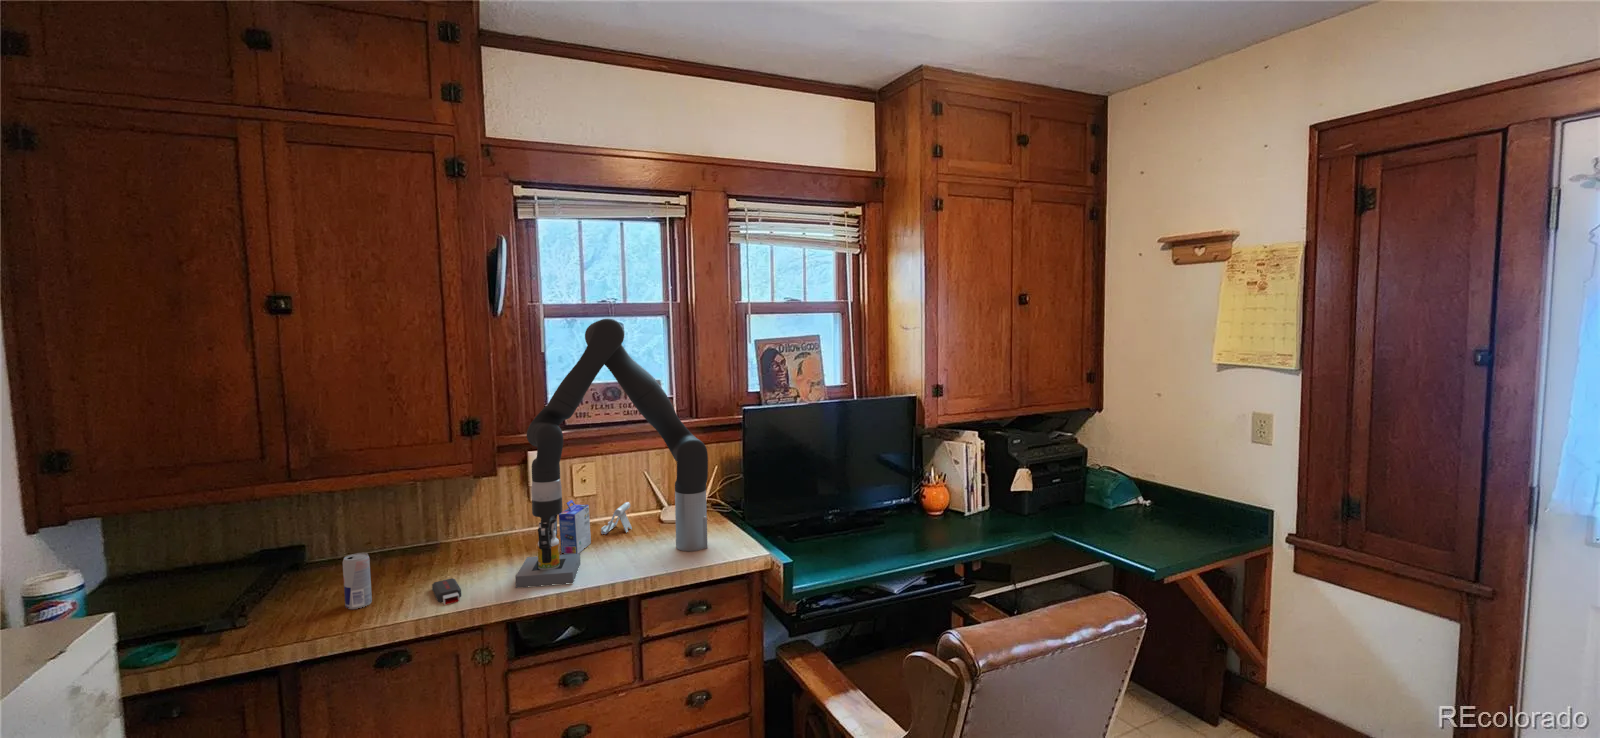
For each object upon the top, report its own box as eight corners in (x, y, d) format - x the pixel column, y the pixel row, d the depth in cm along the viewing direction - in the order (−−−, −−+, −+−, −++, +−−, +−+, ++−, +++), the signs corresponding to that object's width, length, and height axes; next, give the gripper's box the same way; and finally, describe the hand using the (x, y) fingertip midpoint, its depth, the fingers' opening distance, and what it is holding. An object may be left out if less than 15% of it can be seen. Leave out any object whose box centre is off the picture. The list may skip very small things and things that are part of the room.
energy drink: (353, 600, 162) (350, 553, 161) (376, 599, 163) (373, 552, 162) (340, 610, 157) (337, 561, 156) (364, 609, 157) (361, 560, 156)
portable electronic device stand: (611, 526, 219) (610, 501, 218) (634, 526, 218) (633, 502, 218) (601, 534, 211) (600, 509, 210) (624, 535, 210) (624, 509, 209)
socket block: (580, 563, 185) (580, 553, 185) (573, 583, 172) (572, 572, 172) (527, 567, 183) (527, 557, 183) (515, 588, 169) (515, 576, 169)
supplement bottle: (539, 572, 174) (538, 536, 173) (537, 565, 178) (536, 530, 178) (561, 568, 176) (559, 533, 175) (558, 562, 181) (557, 527, 180)
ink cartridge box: (574, 543, 203) (572, 496, 202) (591, 543, 202) (590, 497, 201) (559, 554, 193) (557, 505, 192) (577, 555, 192) (576, 506, 191)
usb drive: (455, 585, 172) (454, 575, 172) (463, 601, 162) (463, 591, 162) (432, 591, 169) (431, 580, 168) (440, 607, 159) (439, 596, 159)
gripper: (557, 502, 169) (559, 567, 171) (566, 488, 183) (568, 548, 185) (526, 504, 168) (528, 569, 169) (537, 490, 182) (539, 550, 183)
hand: (549, 558), depth 177 cm, fingers closed on supplement bottle, 5 cm apart
